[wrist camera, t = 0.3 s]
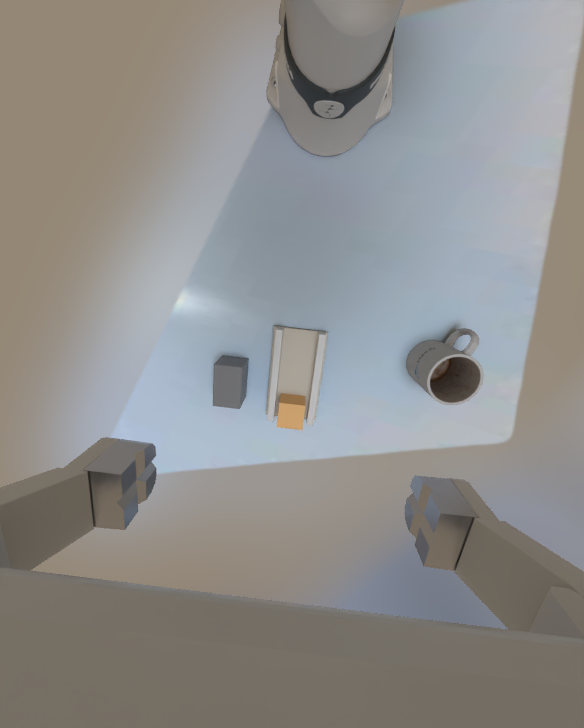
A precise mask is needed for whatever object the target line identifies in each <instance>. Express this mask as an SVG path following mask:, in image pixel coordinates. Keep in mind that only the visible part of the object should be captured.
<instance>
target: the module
mask: <svg viewBox="0 0 584 728" xmlns="http://www.w3.org/2000/svg"><path fill="white" fill-rule="evenodd" d="M247 374H248V358H240V357H231V356H222V357H221V358H220V359H219V360H218V361H217V362H216V363H215V364H214V382H213V406H219V407H228V408H236V409H240V407H241V405H242V403H243V401H244V399H245V397H246V388H247Z"/></svg>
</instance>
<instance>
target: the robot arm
mask: <svg viewBox="0 0 584 728" xmlns="http://www.w3.org/2000/svg"><path fill="white" fill-rule="evenodd" d="M403 2H404V0H281V4H280V11H279V24H280V25H282V26H281V31H280V35H279V36H277V40H276V52H275V57H274V61H273V65H272V70H271V74H270V78H269V83H268V87H267V100H268V102H269V103H270V105H271V106H272V107H273V108H274V109H275V110H276V111H277V112H278V113H279V114H280V115H281V117H282V118H283V120H284V123H285V125H286V127H287V130H288V131H289V133H290V135H291V136H292V138H293V139H294V140H295V142H296V143H297V144H298V145H299V146H301V147H302V148H303V149H305V150H306V151H308V152H310V153H312V154H315V155H320V156H333V155H338V154H341V153H343V152H346V151H347V150H349V149H351V148H352V147H353V146H355V145H356V144H357V143H358V142H359V141H360V140H361V139H362V138H363V136H364V135H365V134H366V132H367V131H368V130H369V129H370V127H371V126H372V125H374V124H375V123H377V122H379V121H380V120H382V119H384V118H385V117H386V116H387V115H388V114H389V112H390V110H391V107H392V77H393V38H394V32H395V24H396V21H397V19H398V16H399V13H400V10H401V7H402V5H403ZM275 83H276V87H275V86H274V85H275ZM385 96H386V98H385ZM155 456H156V451H155V446H154V445H153V444H152V443H145V442H138V441H130V440H123V439H116V438H107V437H106V438H101V439H100V440H99V441H97V442H96V443H95V444H94V445H92V446H91V447H90V448H88V449H87V450H86V451H85V452H83V453H82V454H81V455H80V456H78V457H77V458H76V459H75V460H73V461H72V462H71V463H69V464H68V465H67V466H66V467H64V468H56V469H53V470H50V471H47V472H44V473H41V474H39V475H35V476H33V477H30V478H27V479H24V480H21V481H18V482H16V483H13V484H10V485H7V486H4V487H1V488H0V728H584V572H583V571H582V570H580V569H579V568H577V567H575V566H574V565H572V564H571V563H569V562H568V561H566V560H564V559H563V558H561V557H560V556H558V555H556V554H555V553H553V552H552V551H550V550H549V549H547V548H546V547H544V546H543V545H541V544H539V543H538V542H536V541H535V540H533V539H532V538H530V537H528V536H527V535H525V534H524V533H522V532H521V531H519V530H518V529H516V528H514V527H513V526H511V525H510V524H508V523H507V522H505V521H499V520H498V518H497V517H496V516H495V515H494V513H493V512H492V511H491V510H490V508H489V507H488V506H487V505H486V504H485V502H484V501H483V500H482V499H481V497H480V496H479V495H478V494H477V492H476V491H475V490H474V489H473V487H472V486H471V485H470V484H469V483H468V482H467V481H465V480H460V479H445V478H435V477H426V476H416V475H415V476H414V477H413V479H412V482H411V485H410V487H411V489H412V491H413V494H411V495H410V496H409V497H408V498H407V500H406V504H405V520H406V524H407V527H408V529H409V532H410V533H412V534H413V535H414V536H415V537H416V538H417V539H416V542H415V547H416V548H417V551H418V554H419V556H420V558H421V561H422V563H423V566H425V567H432V568H439V569H445V570H452V571H455V573H456V574H457V575H458V576H459V577H460V579H461V580H462V581H463V582H464V583H465V584H466V585H467V586H468V587H469V588H470V589H471V590H472V591H473V592H474V593H475V594H476V596H477V597H478V598H479V599H480V600H481V601H482V602H483V603H484V604H485V605H486V606H487V607H488V608H489V609H490V610H491V611H492V612H493V613H494V614H495V615H496V617H498V619H499V620H500V621H501V622H502V623H503V624H504V625H505V626H506V627H507V628H508V629H509V630H507V629H499V628H491V627H483V626H474V625H466V624H458V623H449V622H441V621H433V620H425V619H417V618H409V617H401V616H393V615H385V614H377V613H369V612H361V611H353V610H345V609H337V608H329V607H321V606H313V605H304V604H296V603H289V602H280V601H272V600H264V599H256V598H248V597H240V596H232V595H223V594H215V593H207V592H199V591H191V590H182V589H174V588H166V587H158V586H150V585H142V584H133V583H126V582H118V581H109V580H101V579H93V578H85V577H77V576H69V575H61V574H53V573H45V572H36V571H30V570H32V569H33V568H35V567H36V566H37V565H39V564H41V563H42V562H44V561H45V560H47V559H48V558H50V557H51V556H53V555H54V554H56V553H58V552H59V551H61V550H62V549H64V548H65V547H67V546H68V545H70V544H71V543H73V542H74V541H76V540H77V539H79V538H80V537H82V536H83V535H85V534H86V533H88V532H90V531H91V530H93V529H94V527H100V528H110V529H121V530H125V529H126V528H127V526H128V525H129V523H130V522H131V521H132V519H133V518H134V516H135V515H136V514H137V512H138V504H140V503H141V502H143V501H145V500H147V498H148V497H149V495H150V494H151V492H152V489H153V487H154V484H155V480H156V467H155V466H154V464H153V463H152V462H151V461H152V460H153V459H154V458H155Z"/></svg>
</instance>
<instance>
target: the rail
mask: <svg viewBox="0 0 584 728" xmlns="http://www.w3.org/2000/svg"><path fill="white" fill-rule="evenodd" d="M327 338H328V332H324V331H315V330H307V329H298V328H290V327H281V326H274V335H273V345H272V356H271V367H270V378H269V388H268V399H267V410H266V414H267V415H268V419H267V420H268V421H274V416H278V421H277V427H281V428H289V429H297V430H302V428H303V421H304V419H307V425H310V426H313V421H314V420H315V418H316V411H317V405H318V398H319V391H320V385H321V378H322V371H323V364H324V358H325V351H326V344H327Z"/></svg>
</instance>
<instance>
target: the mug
mask: <svg viewBox="0 0 584 728" xmlns="http://www.w3.org/2000/svg"><path fill="white" fill-rule="evenodd" d="M466 334H468V335H470V337H471V340H470V342H469V344H468V346H467V347H466V348H465V349H464V350H463V351H459V350H457V349H455V348H452V346H453V344H454V342H455V341H456V340H457V339H458V338H459V337H460V336H462V335H466ZM478 345H479V337H478V335H477V334H476V333H475V332H474V331H472V330H470V329H465V328H464V329H459V330H457V331H455V332H453V333H452V334H451V335H450V336H449V337H448V339H447V340H446V342H445V343H442V342H440V341H436V340H428V341H424V342H421V343H419V344H418V345H416V346H415V347H414V348H413V349H412V350H411V351H410V353H409V355H408V357H407V361H406V368H407V371H408V373H409V375H410V376H411V377H412V378H413V379H414V380H415V381H416V382H417V383H418V384H419V385H420V386H421V387H422V388H423V389H424V390H425V391H426V392H427V393H428V394H429V395H430V396H431V397H432V398H433V399H435V400H436V401H437V402H439V403H441V404H445V405H458V404H462V403H464V402H466V401H468V400H470V399H471V398H472V397H474V396H475V395H476V394H477V392H478V391H479V389H480V388H481V385H482V382H483V370H482V367H481V365H480V364H479V362H478V361H477V360H476V359H474V358H473V357H471V354H472V353H473V352H474V351H475V349H476V348H477V346H478Z"/></svg>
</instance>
